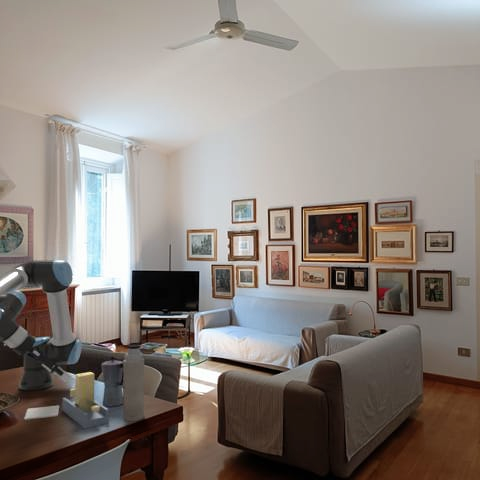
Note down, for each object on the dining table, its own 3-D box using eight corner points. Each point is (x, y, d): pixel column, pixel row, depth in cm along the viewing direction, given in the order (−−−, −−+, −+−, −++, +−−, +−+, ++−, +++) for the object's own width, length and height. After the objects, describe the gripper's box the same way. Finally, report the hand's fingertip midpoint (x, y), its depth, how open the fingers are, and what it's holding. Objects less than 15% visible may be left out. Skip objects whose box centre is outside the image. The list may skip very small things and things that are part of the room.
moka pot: (111, 397, 193) (112, 352, 194) (134, 404, 184) (135, 357, 185) (93, 403, 186) (94, 356, 186) (116, 410, 177) (117, 361, 178)
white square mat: (27, 410, 178) (27, 408, 178) (59, 406, 182) (59, 405, 182) (24, 420, 167) (24, 418, 167) (57, 416, 171) (57, 414, 171)
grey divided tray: (62, 410, 177) (62, 390, 178) (84, 405, 183) (84, 386, 183) (84, 428, 158) (85, 406, 158) (108, 422, 164) (108, 401, 164)
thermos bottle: (120, 421, 165) (120, 347, 167) (126, 413, 173) (126, 343, 175) (140, 421, 165) (141, 347, 166) (146, 413, 173) (146, 343, 174)
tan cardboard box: (75, 410, 170) (75, 374, 171) (90, 406, 174) (90, 371, 175) (78, 413, 167) (79, 376, 168) (94, 409, 171) (94, 373, 172)
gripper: (4, 344, 164) (44, 377, 173) (20, 354, 145) (65, 391, 154) (19, 328, 168) (58, 361, 177) (37, 337, 149) (80, 373, 157)
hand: (62, 375), depth 165 cm, fingers open, 13 cm apart
